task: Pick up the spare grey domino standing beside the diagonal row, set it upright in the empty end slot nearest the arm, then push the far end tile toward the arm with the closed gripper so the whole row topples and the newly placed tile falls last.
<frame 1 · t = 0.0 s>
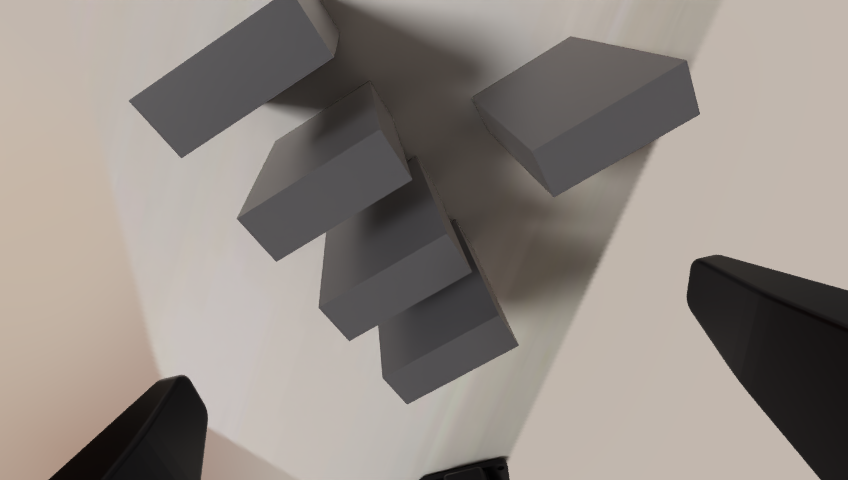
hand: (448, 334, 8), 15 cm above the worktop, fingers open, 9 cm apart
tile 1: (528, 85, 21), on the worktop
tile 3: (381, 197, 23), on the worktop
tile 4: (333, 128, 21), on the worktop
tile 5: (276, 46, 19), on the worktop
tile 2: (422, 255, 24), on the worktop
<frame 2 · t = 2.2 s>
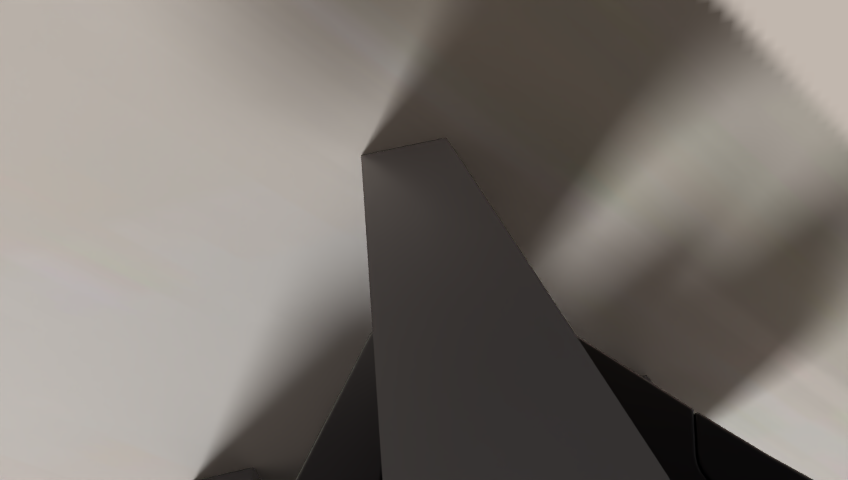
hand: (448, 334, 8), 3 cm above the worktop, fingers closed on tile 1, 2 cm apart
tile 1: (423, 249, 11), on the worktop, touching gripper
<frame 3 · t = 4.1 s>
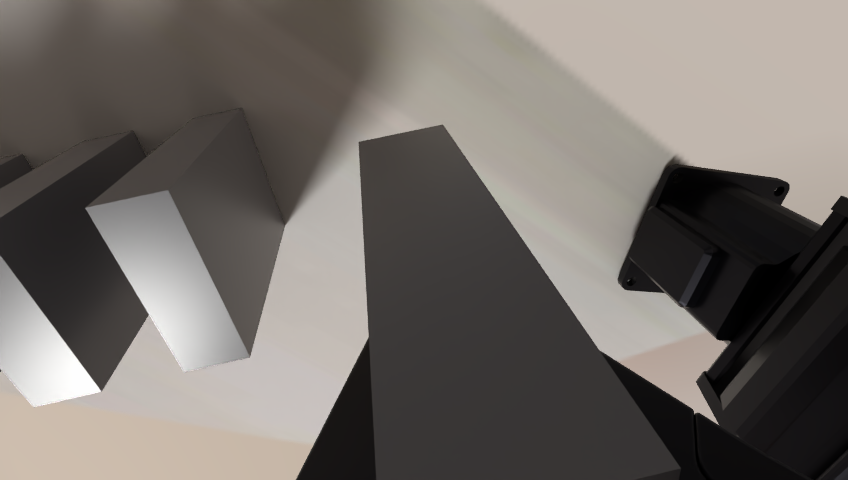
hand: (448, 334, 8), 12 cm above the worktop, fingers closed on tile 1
tile 1: (420, 236, 11), point 9 cm above the worktop, touching gripper
tile 3: (140, 197, 18), on the worktop
tile 4: (37, 219, 18), on the worktop
tile 2: (242, 175, 18), on the worktop
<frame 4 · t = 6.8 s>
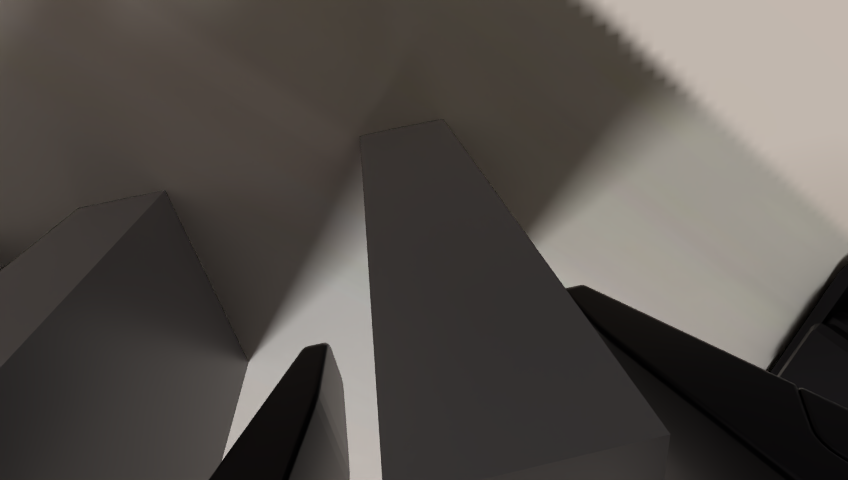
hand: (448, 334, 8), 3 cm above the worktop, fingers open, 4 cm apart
tile 1: (421, 229, 11), on the worktop
tile 2: (173, 294, 11), on the worktop
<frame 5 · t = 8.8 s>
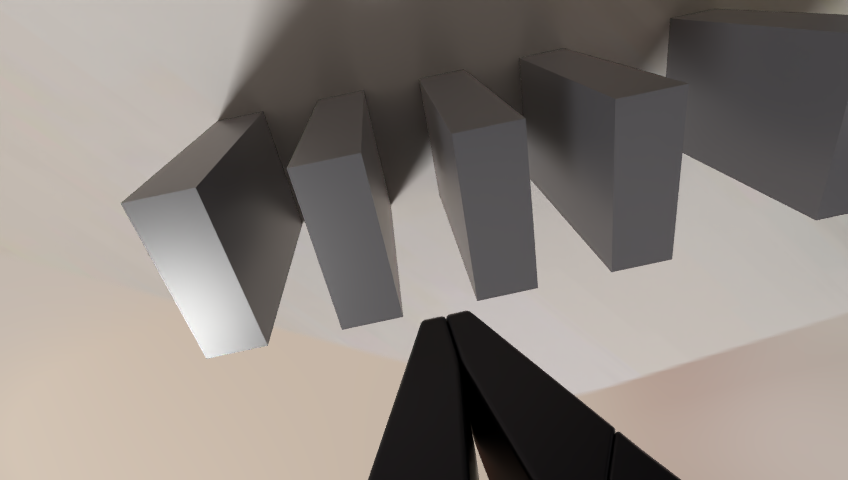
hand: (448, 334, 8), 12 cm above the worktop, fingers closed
tile 1: (686, 79, 19), on the worktop
tile 3: (450, 136, 19), on the worktop
tile 4: (356, 155, 19), on the worktop
tile 5: (262, 175, 19), on the worktop
tile 2: (544, 116, 19), on the worktop
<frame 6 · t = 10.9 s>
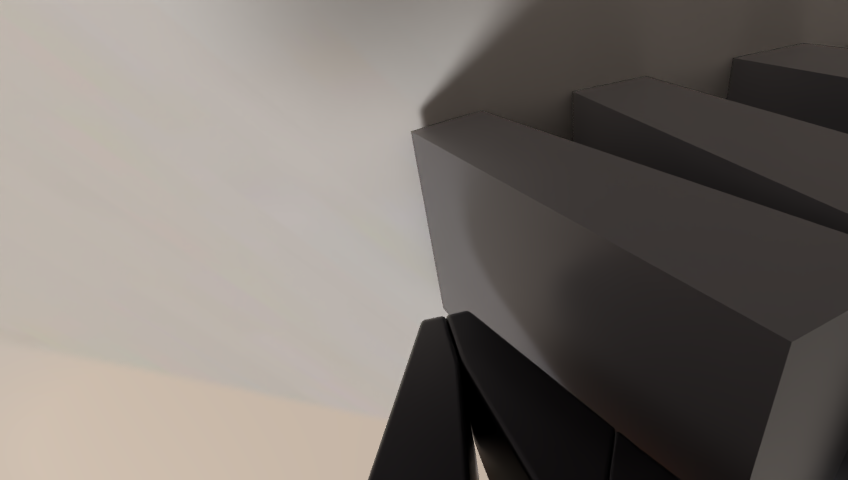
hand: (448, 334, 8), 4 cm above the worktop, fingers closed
tile 3: (749, 149, 12), on the worktop
tile 4: (606, 181, 12), on the worktop
tile 5: (460, 217, 12), on the worktop, tilted 15°
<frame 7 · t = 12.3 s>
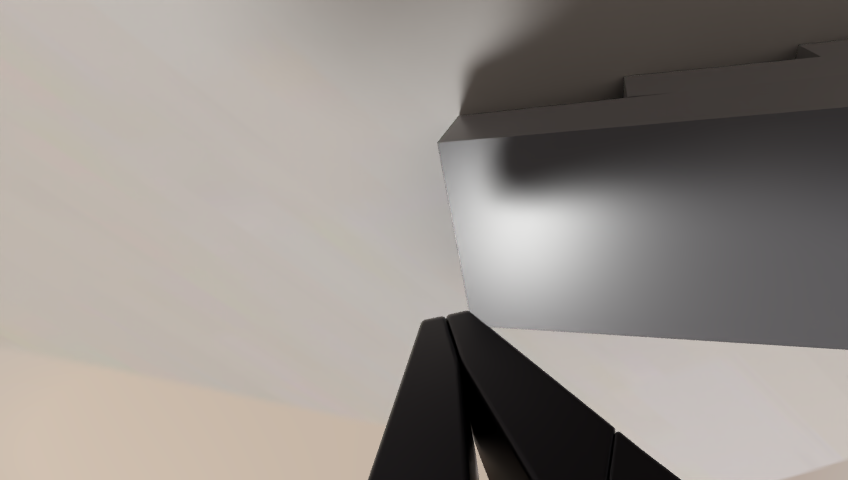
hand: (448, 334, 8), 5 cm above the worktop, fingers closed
tile 3: (787, 155, 12), point 1 cm above the worktop, tilted 64°, touching tile 4
tile 4: (621, 186, 12), point 1 cm above the worktop, tilted 64°, touching tile 3, tile 5
tile 5: (465, 225, 11), point 1 cm above the worktop, tilted 64°, touching tile 4
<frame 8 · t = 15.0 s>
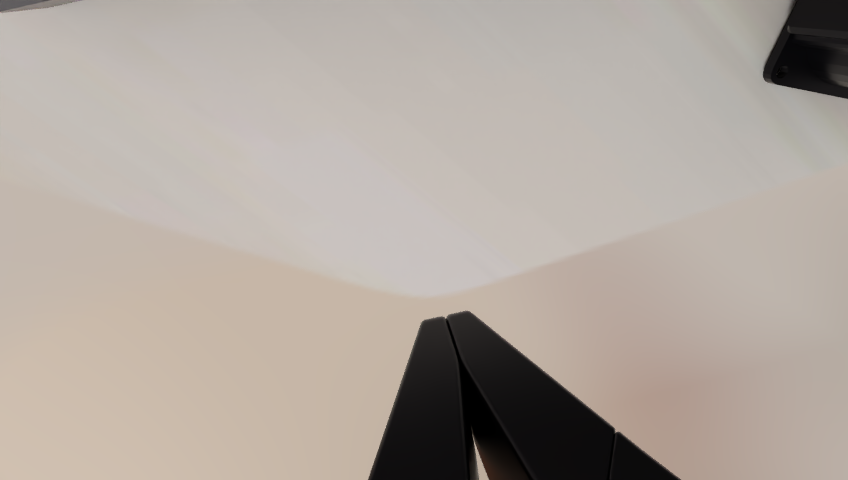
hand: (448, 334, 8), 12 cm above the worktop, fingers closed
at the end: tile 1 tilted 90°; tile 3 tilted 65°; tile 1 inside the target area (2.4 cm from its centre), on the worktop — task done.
